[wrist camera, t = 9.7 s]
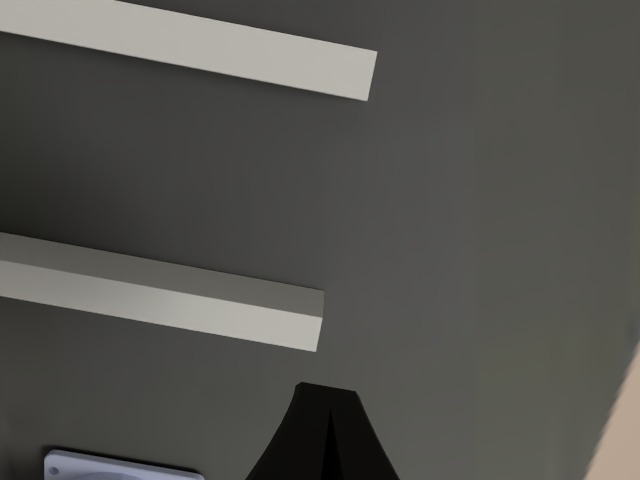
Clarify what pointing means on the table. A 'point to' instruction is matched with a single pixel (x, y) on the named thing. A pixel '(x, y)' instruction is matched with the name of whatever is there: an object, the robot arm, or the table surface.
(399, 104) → the table surface
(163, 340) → the table surface
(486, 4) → the table surface
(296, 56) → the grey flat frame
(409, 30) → the table surface
